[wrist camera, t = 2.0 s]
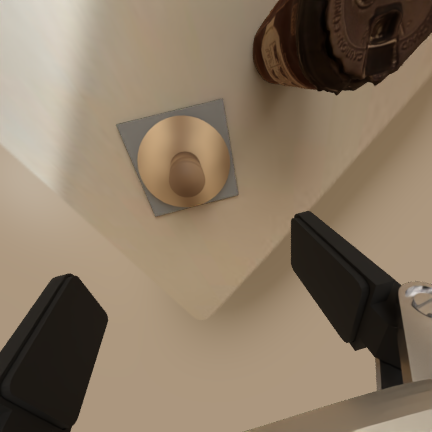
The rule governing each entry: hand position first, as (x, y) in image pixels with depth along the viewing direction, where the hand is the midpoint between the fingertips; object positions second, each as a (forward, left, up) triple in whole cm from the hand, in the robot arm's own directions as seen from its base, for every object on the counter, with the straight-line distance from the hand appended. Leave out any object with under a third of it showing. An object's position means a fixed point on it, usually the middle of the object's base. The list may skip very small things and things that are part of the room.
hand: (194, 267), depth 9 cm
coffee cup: (-13, -8, -19) cm, 25 cm away
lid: (0, +1, -19) cm, 19 cm away
